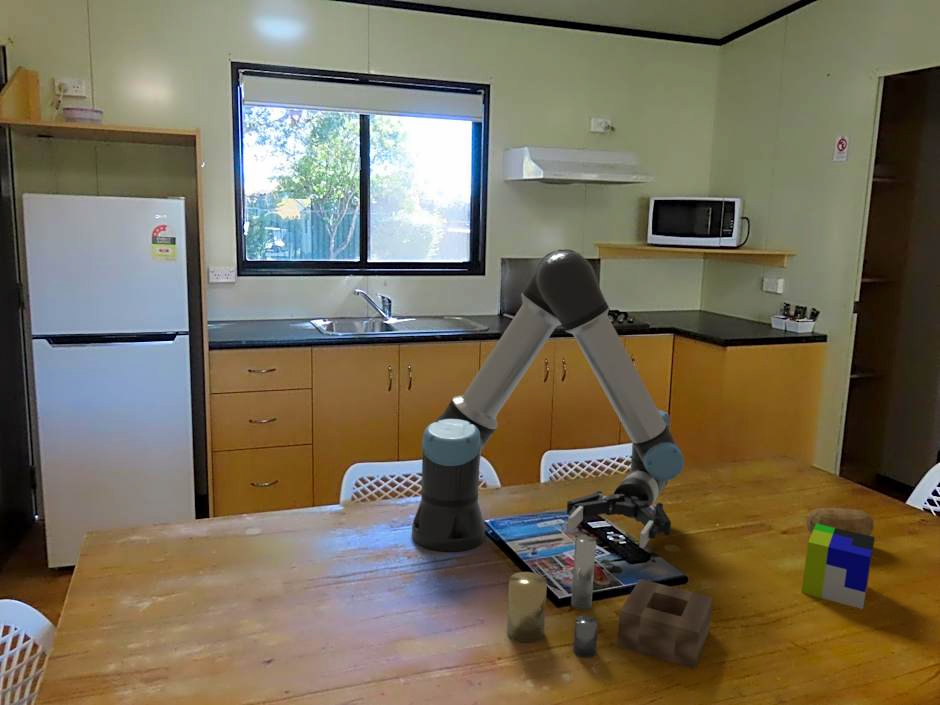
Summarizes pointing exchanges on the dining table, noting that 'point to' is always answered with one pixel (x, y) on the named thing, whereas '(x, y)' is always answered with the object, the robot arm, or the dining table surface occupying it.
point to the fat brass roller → (526, 607)
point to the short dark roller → (585, 636)
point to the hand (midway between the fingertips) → (604, 532)
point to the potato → (841, 520)
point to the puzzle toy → (838, 565)
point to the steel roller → (583, 572)
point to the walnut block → (665, 623)
